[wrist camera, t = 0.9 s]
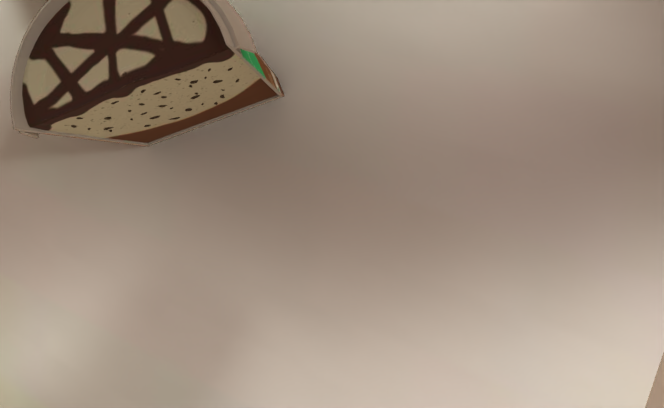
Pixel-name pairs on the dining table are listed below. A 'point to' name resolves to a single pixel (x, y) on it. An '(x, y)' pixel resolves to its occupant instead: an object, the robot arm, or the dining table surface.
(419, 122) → the dining table surface
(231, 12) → the food container
